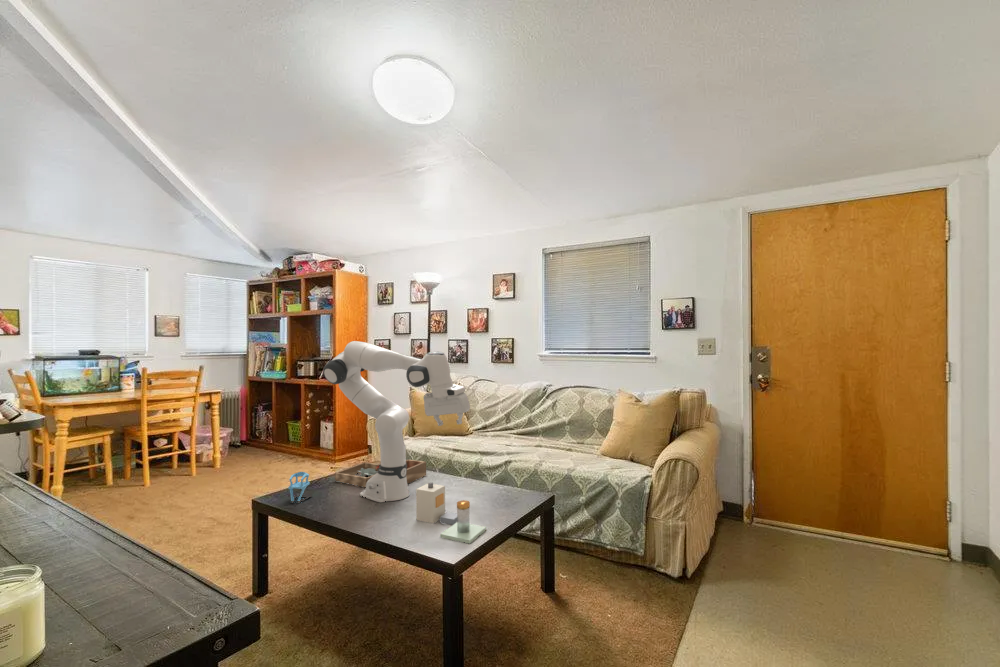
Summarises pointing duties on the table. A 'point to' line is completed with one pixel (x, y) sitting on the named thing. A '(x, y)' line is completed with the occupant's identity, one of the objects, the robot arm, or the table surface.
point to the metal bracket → (367, 472)
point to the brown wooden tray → (349, 474)
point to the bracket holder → (415, 470)
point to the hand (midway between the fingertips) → (450, 424)
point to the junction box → (430, 502)
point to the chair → (298, 484)
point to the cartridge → (463, 516)
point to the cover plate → (449, 518)
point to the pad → (463, 537)
